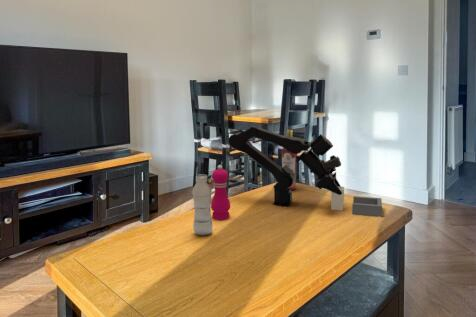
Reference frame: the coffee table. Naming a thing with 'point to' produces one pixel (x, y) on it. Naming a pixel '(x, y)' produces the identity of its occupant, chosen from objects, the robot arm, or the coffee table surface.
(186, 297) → the coffee table surface
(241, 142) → the robot arm
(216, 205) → the pepper mill
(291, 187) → the liquor
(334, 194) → the white rectangular block
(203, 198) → the plastic bottle
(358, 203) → the frame
